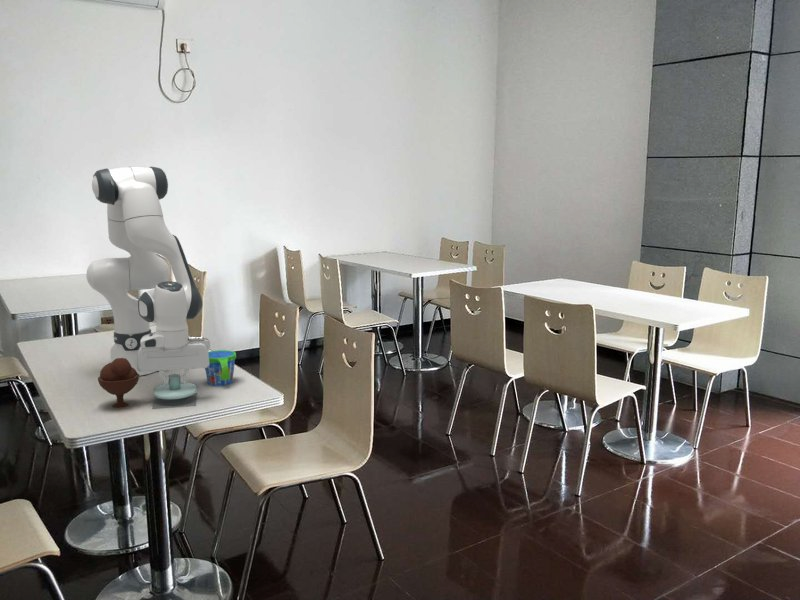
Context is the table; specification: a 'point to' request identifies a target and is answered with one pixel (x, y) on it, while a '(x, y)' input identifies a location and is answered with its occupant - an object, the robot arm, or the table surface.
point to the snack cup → (220, 367)
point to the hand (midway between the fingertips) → (174, 383)
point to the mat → (175, 402)
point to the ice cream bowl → (118, 379)
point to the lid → (174, 389)
